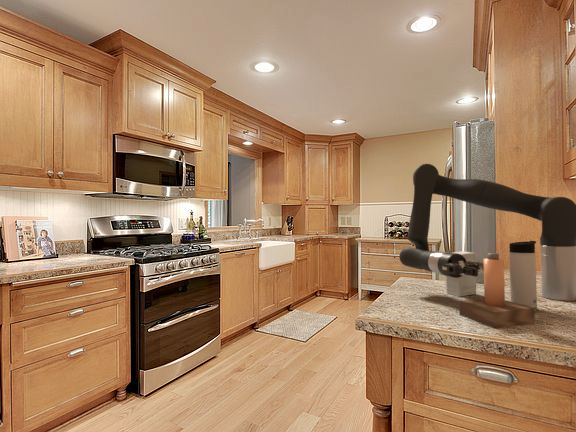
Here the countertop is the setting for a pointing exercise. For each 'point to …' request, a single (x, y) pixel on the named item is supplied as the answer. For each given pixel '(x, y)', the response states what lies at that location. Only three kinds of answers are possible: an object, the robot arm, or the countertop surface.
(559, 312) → the countertop surface
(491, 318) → the walnut plinth
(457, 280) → the skincare box
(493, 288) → the orange bottle
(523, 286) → the travel mug
